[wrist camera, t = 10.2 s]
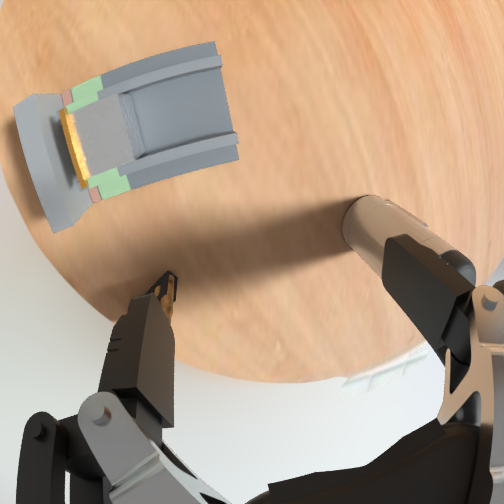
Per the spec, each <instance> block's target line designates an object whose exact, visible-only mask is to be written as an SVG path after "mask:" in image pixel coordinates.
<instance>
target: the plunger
mask: <svg viewBox="0 0 504 504" xmlns="http://www.w3.org/2000/svg"><path fill="white" fill-rule="evenodd" d="M59 115H60V119H61V123H62V127H63V131H64V135H65V139H66V142H67V146H68V149H69V153H70V156H71V159H72V163H73V166H74V169H75V172H76V175H77V178H78V181H79V184H80V186H81V189H84V188H86V187H87V186H89V183H88V180H87V178H90V177H92V176H95V175H97V174H100V173H102V172H105V171H108V170H110V169H113V168H116V167H118V166H121V165H124V164H127V163H130V162H133V161H135V160H136V159H137V158H138V157H140V156H141V155H142V154H143V153H144V152H145V148H144V144H143V141H142V137H141V133H140V129H139V125H138V121H137V117H136V113H135V109H134V105H133V101H132V96H131V95H127V94H121V93H115V94H113V95H110V96H108V97H105V98H103V99H101V100H98V101H96V102H94V103H91V104H89V105H87V106H85V107H83V108H80V109H78V110H76V111H74V112H72V113H70V114H68V111H67V108H63V109H61V110H59Z"/></svg>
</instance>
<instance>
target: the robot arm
mask: <svg viewBox="0 0 504 504" xmlns="http://www.w3.org/2000/svg"><path fill="white" fill-rule="evenodd" d="M342 233H343V237H344V240H345V241H346V242H347V244H348V245H349V246H350V247H351V248H352V249H353V250H354V251H355V252H356V253H357V254H358V255H359V256H360V257H361V258H362V259H363V260H364V261H365V262H366V263H367V264H368V265H369V266H370V268H371V269H372V270H373V271H374V272H375V273H376V274H377V275H378V276H379V277H380V278H381V279H382V282H383V285H384V287H385V289H386V291H387V292H388V293H389V294H390V295H391V296H392V298H393V299H394V300H395V301H396V302H397V304H398V305H399V306H400V307H401V309H402V310H403V311H404V312H405V313H406V315H407V316H408V317H409V318H410V320H411V321H412V322H413V323H414V325H415V326H416V327H417V329H418V330H419V331H420V332H421V334H422V335H423V336H424V338H425V339H426V340H427V341H428V343H429V344H430V345H431V347H432V348H433V349H434V351H435V353H436V354H437V356H438V357H439V358H440V360H441V362H442V363H443V365H444V366H445V385H444V397H443V403H442V406H441V408H440V410H439V413H438V415H437V418H435V419H434V420H432V421H431V422H429V423H427V424H426V425H424V426H422V427H420V428H419V429H417V430H415V431H413V432H411V433H410V434H408V435H406V436H404V437H402V438H401V439H400V440H399V441H398V442H396V443H395V444H394V445H393V446H391V447H390V448H389V449H388V450H386V451H385V452H384V453H382V454H381V455H380V456H379V457H377V458H376V459H374V460H373V461H372V462H370V463H369V464H367V465H365V466H362V467H357V468H350V469H343V470H335V471H325V472H314V473H311V474H308V475H304V476H300V477H296V478H292V479H288V480H284V481H280V482H275V483H270V484H268V487H269V491H266V492H264V493H262V494H260V495H258V496H257V497H255V498H253V499H251V500H250V501H248V502H247V503H245V504H504V280H501V281H498V282H496V283H495V284H494V285H493V287H491V286H487V285H482V286H478V287H475V283H476V271H475V267H474V265H473V263H472V262H471V261H470V260H469V259H468V258H467V257H466V256H464V255H463V254H462V253H460V252H459V251H458V250H457V249H455V248H454V247H453V246H451V245H450V244H449V243H447V242H446V241H445V240H443V239H442V238H440V237H439V236H438V235H436V234H435V233H433V232H432V231H431V230H429V229H428V226H427V224H426V223H425V222H423V221H422V220H420V219H419V218H417V217H416V216H414V215H413V214H411V213H409V212H408V211H406V210H405V209H403V208H402V207H400V206H398V205H397V204H395V203H394V202H392V201H390V200H383V199H382V198H380V197H378V196H374V195H369V196H365V197H362V198H360V199H359V200H357V201H356V202H354V203H353V205H352V206H351V207H350V208H349V209H348V211H347V213H346V215H345V217H344V220H343V224H342ZM107 351H108V353H106V357H105V361H104V365H103V369H102V374H101V378H100V383H99V388H98V392H97V393H95V394H93V395H91V396H89V397H88V398H87V399H86V400H85V401H84V402H83V403H82V405H81V407H80V409H79V412H78V414H77V415H74V416H71V417H67V418H64V419H61V420H58V421H57V420H56V419H55V418H54V417H53V416H51V415H50V414H49V413H47V412H37V413H35V414H34V415H32V416H31V417H30V418H29V420H28V421H27V423H26V426H25V428H24V433H23V439H22V444H21V451H20V458H19V466H18V476H17V490H16V504H65V471H67V472H69V473H70V504H231V503H230V502H229V501H227V500H226V499H225V498H224V497H223V496H222V495H220V494H219V493H218V492H217V491H215V490H214V489H213V488H211V487H210V486H209V485H207V484H206V483H205V482H204V481H202V480H201V479H200V478H199V477H198V476H197V475H196V474H195V473H194V472H193V471H192V470H191V469H190V468H189V467H188V466H187V465H186V464H185V463H184V462H183V461H182V460H181V459H180V458H179V457H178V456H177V455H176V454H175V453H174V451H173V450H172V449H171V448H170V447H169V446H168V445H167V444H166V443H165V442H164V440H163V439H162V428H172V427H174V354H175V339H174V334H173V330H172V327H171V325H170V323H169V321H168V319H167V317H166V315H165V313H164V311H163V309H162V307H161V304H160V302H159V300H158V298H157V296H156V295H155V294H154V293H152V294H148V295H143V296H138V297H134V298H132V299H131V302H130V305H129V309H128V313H127V315H122V316H121V317H120V318H119V320H118V321H117V323H116V324H115V326H114V327H113V330H112V334H111V337H110V342H109V345H108V349H107Z"/></svg>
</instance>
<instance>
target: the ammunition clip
mask: <svg viewBox="0 0 504 504" xmlns="http://www.w3.org/2000/svg"><path fill="white" fill-rule="evenodd" d="M177 279H178V278H177V277H176V276H175V275H173V274H172V273H171V272H169V271H167V272H166V273H165V274H164V275H163V276H162V277H161V278H160V279H159V280H158V281H157V282H156V283H155V284H154V285H153V286H152V287H151V288H150V289H149V290H148V291H147V292H146V293H145V295H148V294H152V293H154V294H155V295H156V296H157V298H158V300H159V302H160V304H161V307H162V309H163V311H164V313H165V315H166V317H167V319H168V321H169V323H170V325H171V317H172V314H173V303H174V302H175V301H176V291H177Z"/></svg>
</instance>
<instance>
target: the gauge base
mask: <svg viewBox="0 0 504 504" xmlns="http://www.w3.org/2000/svg"><path fill="white" fill-rule="evenodd" d="M222 65H223V64H222V59H221V55H217V50H216V45H215V41H214V42H208V43H203V44H198V45H194V46H189V47H185V48H181V49H177V50H173V51H169V52H165V53H162V54H158V55H155V56H152V57H148V58H145V59H142V60H139V61H136V62H133V63H130V64H128V65H125V66H122V67H119V68H117V69H114V70H112V71H109V72H107V73H104V74H102V75H99V76H97V77H94V78H92V79H90V80H88V81H86V82H83V83H81V84H79V85H77V86H75V87H73V88H71V89H69V90H67V91H65V92H63V93H61V94H32V95H31V96H29V97H28V98H26V99H24V100H23V101H21V102H20V103H19V104H17V105H16V106H14V107H13V110H14V115H15V120H16V124H17V129H18V133H19V137H20V141H21V145H22V148H23V152H24V155H25V159H26V162H27V165H28V169H29V172H30V175H31V178H32V181H33V184H34V187H35V189H36V192H37V195H38V197H39V200H40V203H41V205H42V208H43V210H44V213H45V215H46V218H47V220H48V222H49V225H50V227H51V229H52V231H53V233H56V232H58V231H61V230H63V229H66V228H68V227H71V226H73V225H74V224H75V223H76V222H77V221H78V220H79V218H80V217H81V216H82V215H83V214H84V213H85V212H86V210H87V209H88V208H89V207H90V206H91V205H92V204H93V203H96V202H98V201H101V200H104V199H106V198H109V197H112V196H115V195H118V194H121V193H124V192H127V191H130V190H132V189H135V188H138V187H141V186H144V185H147V184H151V183H154V182H157V181H160V180H164V179H167V178H171V177H174V176H178V175H181V174H185V173H188V172H192V171H196V170H200V169H203V168H207V167H211V166H215V165H219V164H224V163H228V162H232V161H236V160H239V156H238V151H237V146H236V144H238V143H239V142H238V137H237V133H236V132H234V131H233V127H232V122H231V117H230V112H229V107H228V103H227V98H226V93H225V88H224V83H223V78H222V74H221V69H220V68H221V67H222ZM115 93H121V94H127V95H131V96H132V101H133V105H134V109H135V113H136V117H137V121H138V125H139V129H140V133H141V137H142V141H143V144H144V148H145V152H144V153H143V154H142V155H141V156H140V157H138V158H137V159H136V160H135V161H133V162H130V163H127V164H124V165H121V166H118V167H116V168H113V169H110V170H108V171H105V172H102V173H100V174H97V175H95V176H92V177H90V178H87V180H88V183H89V186H87V187H86V188H84V189H81V186H80V184H79V181H78V178H77V175H76V172H75V169H74V166H73V163H72V159H71V156H70V153H69V149H68V146H67V142H66V139H65V135H64V131H63V127H62V123H61V119H60V115H59V110H61V109H63V108H67V111H68V114H70V113H72V112H74V111H76V110H78V109H80V108H83V107H85V106H87V105H89V104H91V103H94V102H96V101H98V100H101V99H103V98H105V97H108V96H110V95H113V94H115Z"/></svg>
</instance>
